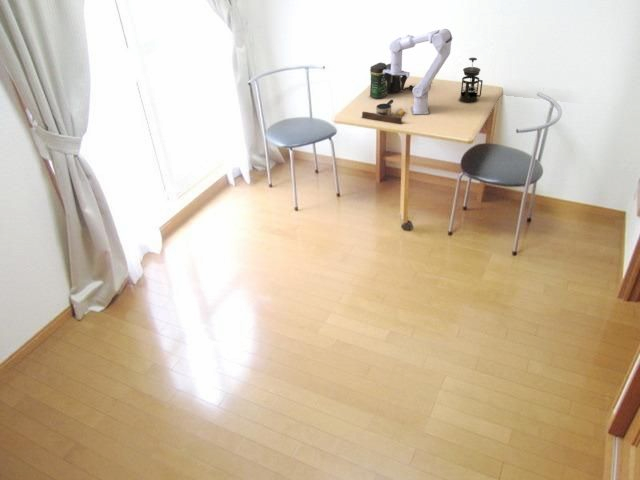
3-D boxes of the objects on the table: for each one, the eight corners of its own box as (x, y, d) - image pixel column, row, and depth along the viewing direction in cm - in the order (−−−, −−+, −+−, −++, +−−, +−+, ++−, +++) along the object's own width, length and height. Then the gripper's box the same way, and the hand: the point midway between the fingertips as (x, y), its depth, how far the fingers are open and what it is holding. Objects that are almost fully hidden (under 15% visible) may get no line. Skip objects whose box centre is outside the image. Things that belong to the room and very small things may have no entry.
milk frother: (382, 89, 306) (382, 64, 297) (405, 84, 311) (405, 59, 302) (395, 97, 296) (395, 71, 287) (418, 91, 301) (419, 66, 292)
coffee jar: (379, 100, 294) (379, 67, 283) (367, 97, 298) (367, 65, 287) (388, 94, 300) (389, 62, 289) (377, 92, 304) (377, 60, 293)
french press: (456, 101, 286) (460, 59, 272) (462, 95, 292) (466, 54, 278) (476, 104, 280) (481, 62, 266) (482, 98, 286) (487, 56, 272)
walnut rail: (362, 117, 277) (362, 112, 275) (363, 116, 278) (363, 111, 276) (400, 124, 267) (400, 118, 265) (401, 122, 268) (401, 117, 266)
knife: (400, 112, 279) (400, 109, 278) (404, 112, 278) (404, 110, 277) (391, 120, 271) (392, 118, 270) (395, 121, 270) (395, 119, 269)
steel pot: (387, 120, 272) (387, 110, 269) (373, 118, 275) (373, 108, 272) (398, 109, 282) (399, 99, 279) (385, 107, 286) (385, 97, 282)
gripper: (380, 64, 272) (380, 89, 280) (406, 67, 265) (405, 92, 274) (385, 59, 276) (385, 84, 285) (411, 62, 270) (410, 87, 278)
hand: (395, 88), depth 279 cm, fingers open, 7 cm apart
